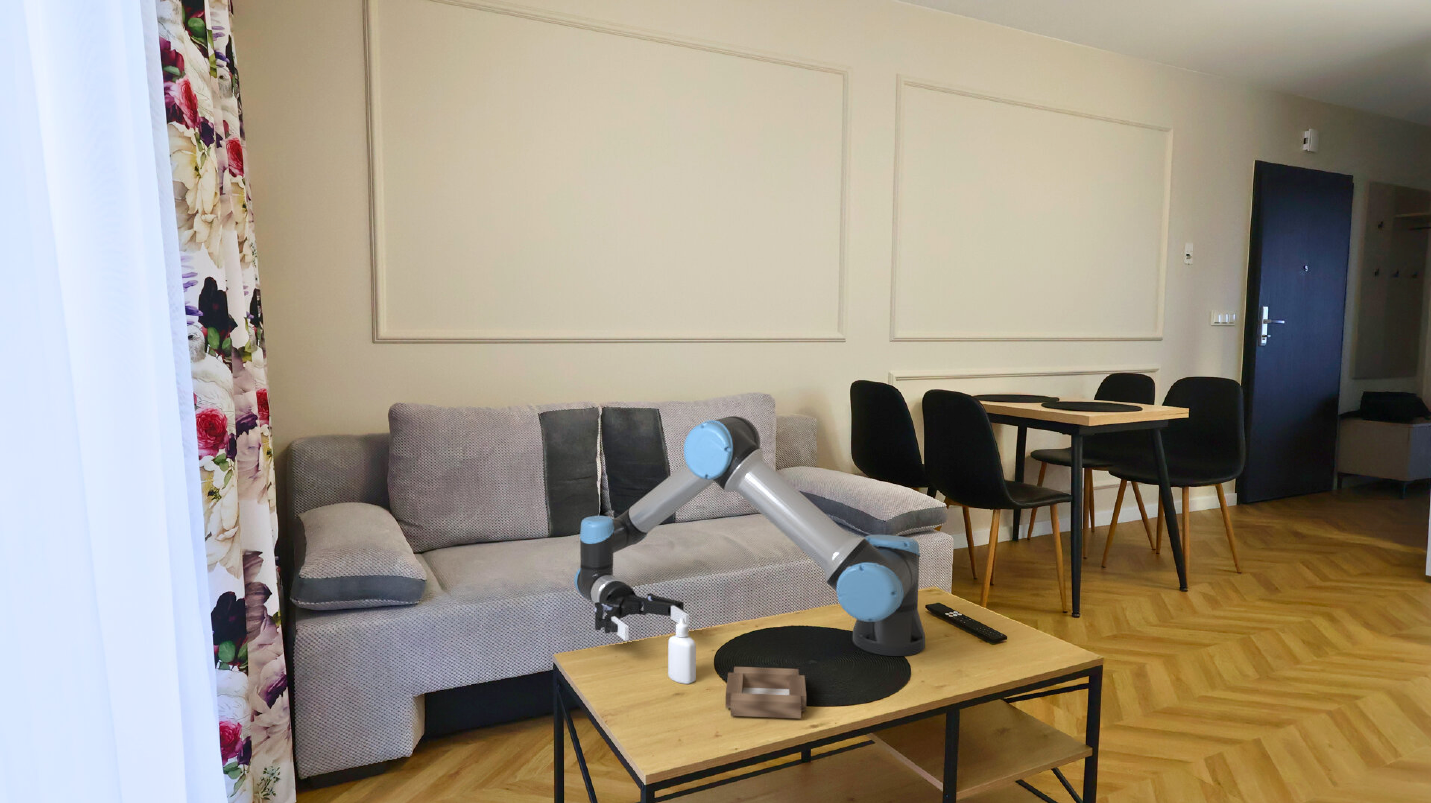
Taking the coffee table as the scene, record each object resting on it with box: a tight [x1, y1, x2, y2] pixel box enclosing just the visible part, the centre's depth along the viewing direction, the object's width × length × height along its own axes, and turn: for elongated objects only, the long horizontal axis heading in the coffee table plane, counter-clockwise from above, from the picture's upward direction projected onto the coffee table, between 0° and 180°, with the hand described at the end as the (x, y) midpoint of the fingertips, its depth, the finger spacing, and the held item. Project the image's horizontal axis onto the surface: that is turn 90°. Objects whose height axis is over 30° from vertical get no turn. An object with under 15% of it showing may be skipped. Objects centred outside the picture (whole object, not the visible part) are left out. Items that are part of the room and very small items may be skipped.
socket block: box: [725, 666, 807, 719], centre depth 147 cm, size 14×14×3 cm
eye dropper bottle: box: [667, 617, 697, 685], centre depth 156 cm, size 4×6×12 cm
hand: (657, 627), depth 164 cm, fingers open, 13 cm apart
